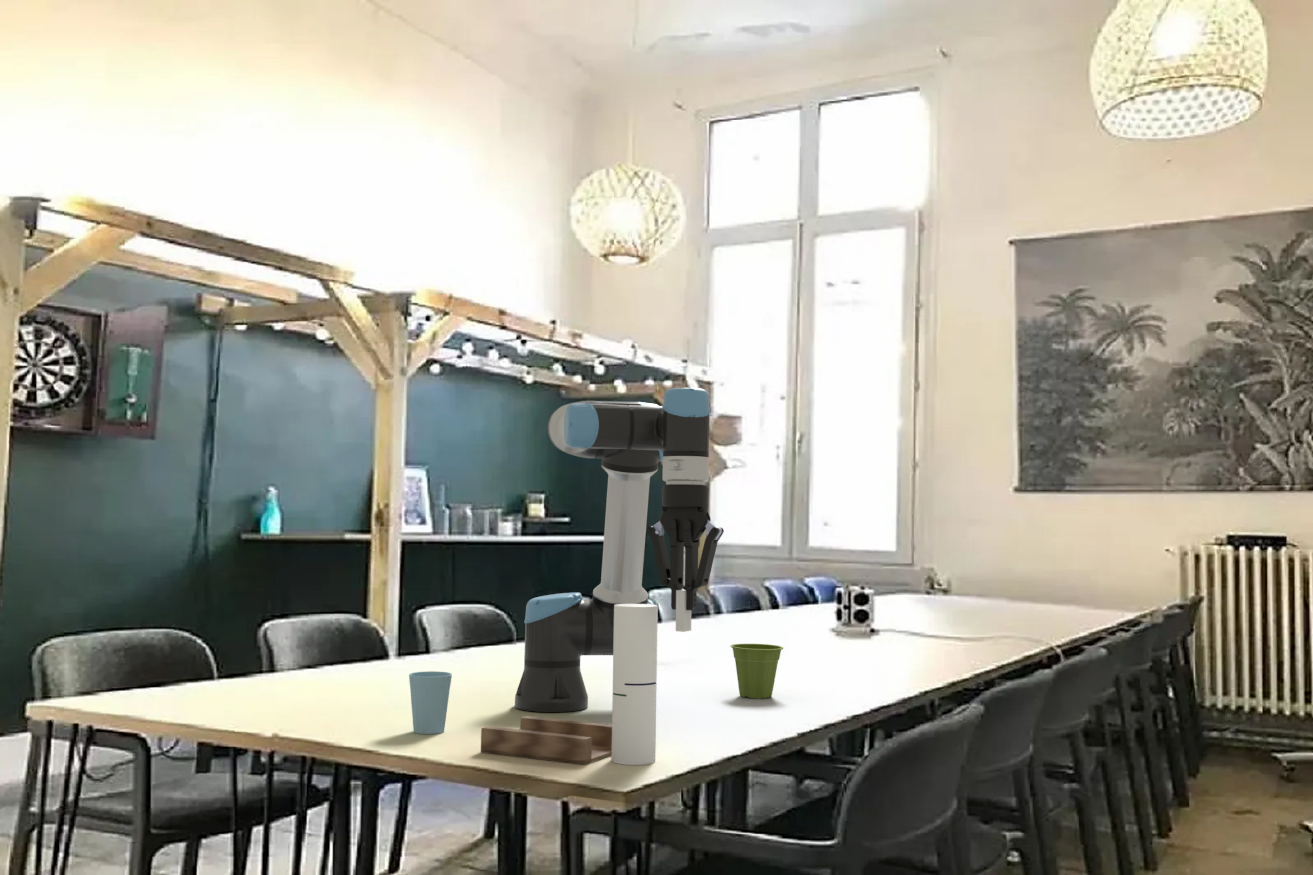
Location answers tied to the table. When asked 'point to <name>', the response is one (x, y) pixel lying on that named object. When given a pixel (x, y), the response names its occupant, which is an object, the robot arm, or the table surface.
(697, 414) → the robot arm
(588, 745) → the walnut U-channel
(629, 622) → the cylindrical container
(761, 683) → the plant pot
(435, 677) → the cup
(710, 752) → the table surface
